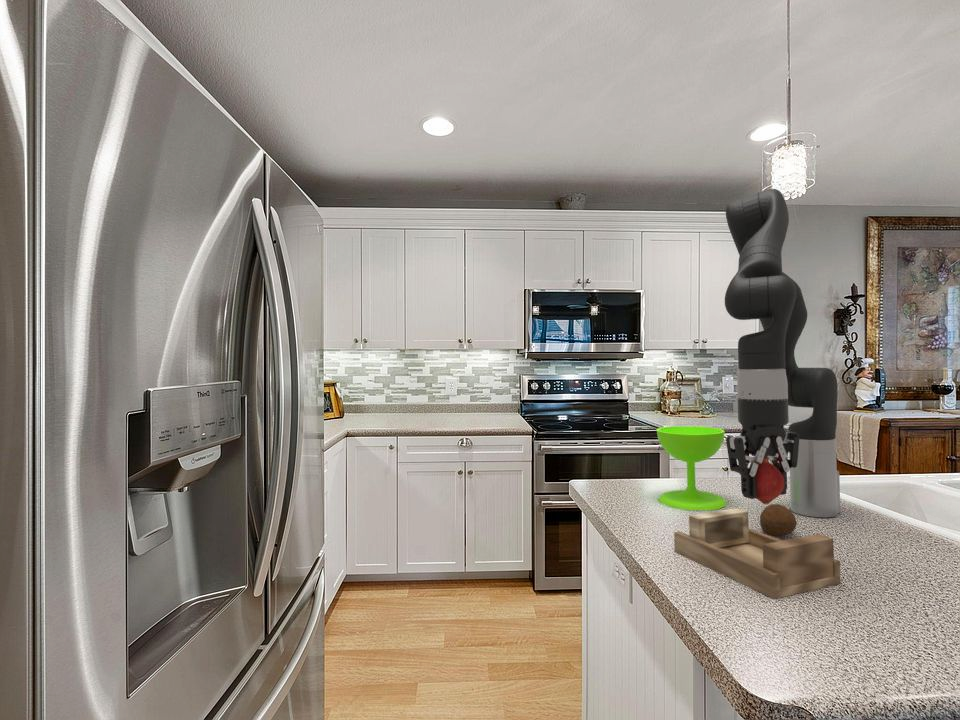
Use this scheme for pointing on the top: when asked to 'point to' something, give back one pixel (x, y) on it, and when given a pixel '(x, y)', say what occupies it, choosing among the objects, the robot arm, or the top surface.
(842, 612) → the top surface
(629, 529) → the top surface
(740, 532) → the jaw
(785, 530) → the potato
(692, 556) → the vise base
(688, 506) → the wineglass
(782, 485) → the onion
